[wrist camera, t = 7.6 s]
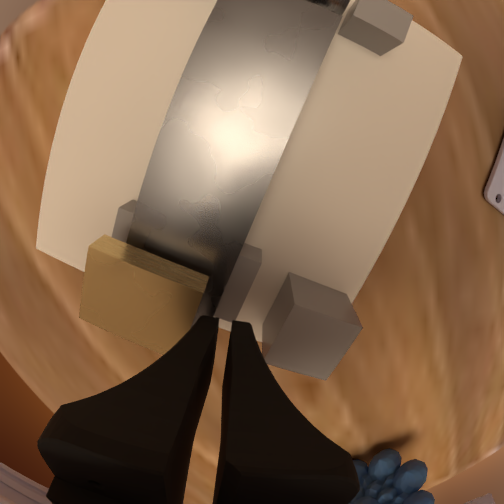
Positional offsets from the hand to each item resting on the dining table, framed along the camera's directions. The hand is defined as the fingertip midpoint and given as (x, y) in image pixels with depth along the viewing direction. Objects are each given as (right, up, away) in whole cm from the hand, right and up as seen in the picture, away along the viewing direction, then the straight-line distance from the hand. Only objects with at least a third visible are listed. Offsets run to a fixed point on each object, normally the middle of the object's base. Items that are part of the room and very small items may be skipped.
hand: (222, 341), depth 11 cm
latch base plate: (0, +8, +2) cm, 9 cm away
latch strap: (0, +7, 0) cm, 7 cm away
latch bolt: (-3, +2, 0) cm, 3 cm away
